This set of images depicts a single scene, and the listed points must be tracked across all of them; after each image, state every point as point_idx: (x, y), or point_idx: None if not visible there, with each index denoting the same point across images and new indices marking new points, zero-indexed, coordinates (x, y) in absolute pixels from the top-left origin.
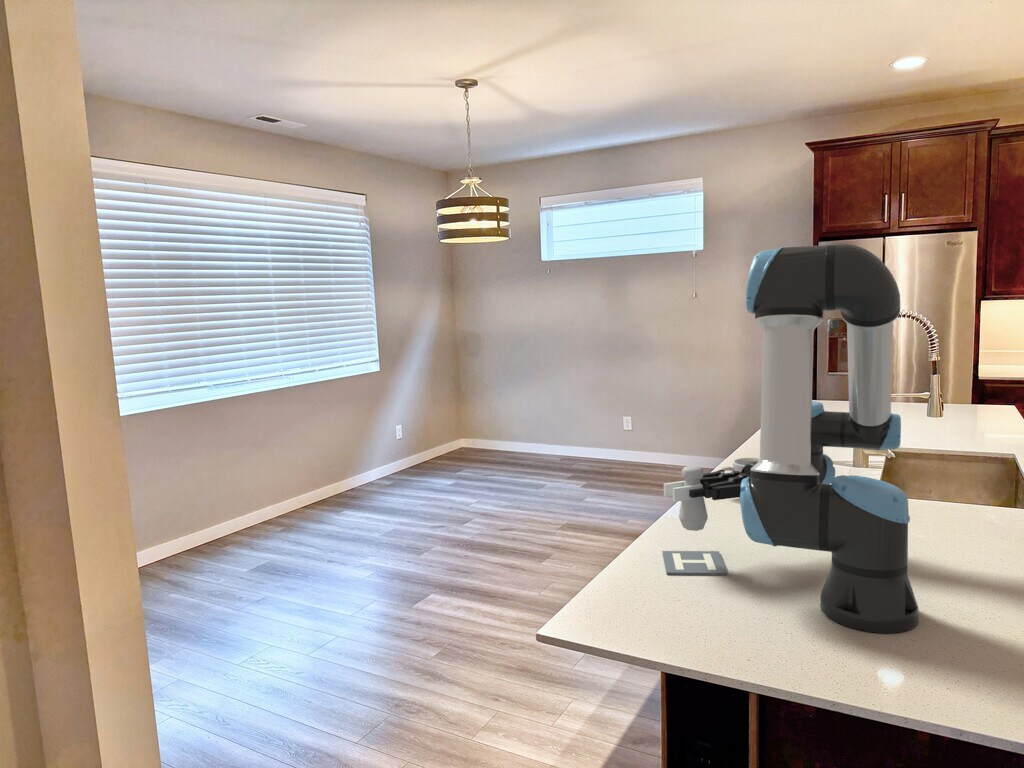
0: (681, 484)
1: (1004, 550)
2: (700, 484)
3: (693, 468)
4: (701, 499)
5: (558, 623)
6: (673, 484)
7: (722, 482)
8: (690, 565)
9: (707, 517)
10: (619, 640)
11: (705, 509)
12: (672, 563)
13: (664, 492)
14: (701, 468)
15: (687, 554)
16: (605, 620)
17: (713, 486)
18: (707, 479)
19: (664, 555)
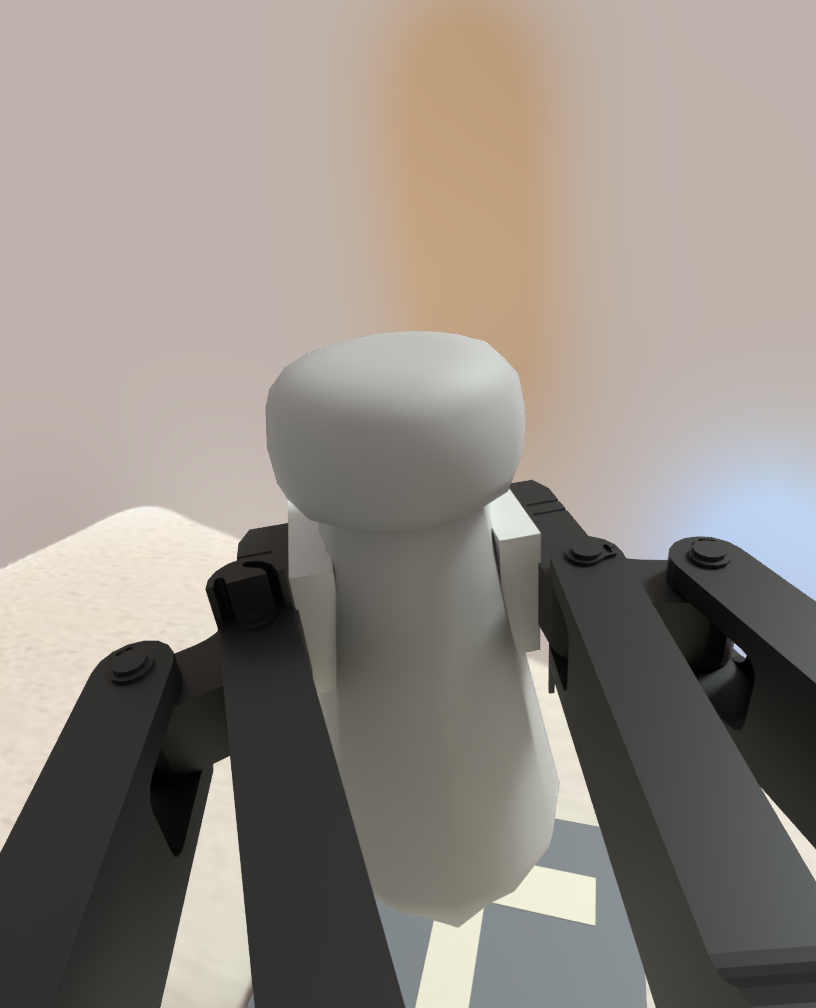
0: None
1: None
2: (312, 565)
3: (322, 352)
4: (333, 701)
5: (169, 516)
6: None
7: (309, 850)
8: (388, 926)
9: (390, 901)
10: (10, 591)
11: (361, 819)
12: None
13: None
14: (334, 403)
15: (576, 974)
16: (119, 579)
17: (223, 684)
18: (606, 704)
19: (563, 826)
